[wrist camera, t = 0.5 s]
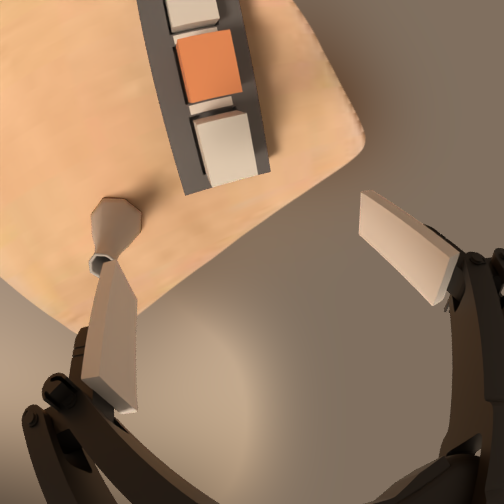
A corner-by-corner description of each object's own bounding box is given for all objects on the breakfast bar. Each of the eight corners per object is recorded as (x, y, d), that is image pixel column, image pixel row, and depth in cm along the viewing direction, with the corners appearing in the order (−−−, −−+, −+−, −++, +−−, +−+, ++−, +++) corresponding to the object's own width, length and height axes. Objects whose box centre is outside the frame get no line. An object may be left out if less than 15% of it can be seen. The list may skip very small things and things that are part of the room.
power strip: (131, -42, 14) (127, -56, 11) (215, -58, 16) (221, -72, 12) (183, 184, 33) (185, 195, 30) (260, 162, 34) (270, 172, 31)
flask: (85, 236, 33) (66, 282, 25) (99, 188, 30) (77, 225, 22) (132, 252, 36) (126, 302, 28) (150, 207, 33) (146, 249, 25)
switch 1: (163, -9, 18) (162, -21, 14) (204, -17, 18) (209, -30, 15) (172, 35, 21) (172, 27, 18) (213, 26, 22) (219, 18, 18)
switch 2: (176, 46, 20) (177, 39, 17) (221, 37, 20) (230, 29, 17) (188, 101, 23) (191, 103, 20) (232, 91, 24) (242, 91, 21)
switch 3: (193, 120, 25) (196, 125, 21) (236, 110, 25) (246, 113, 22) (206, 175, 28) (212, 187, 25) (246, 164, 29) (258, 175, 25)
